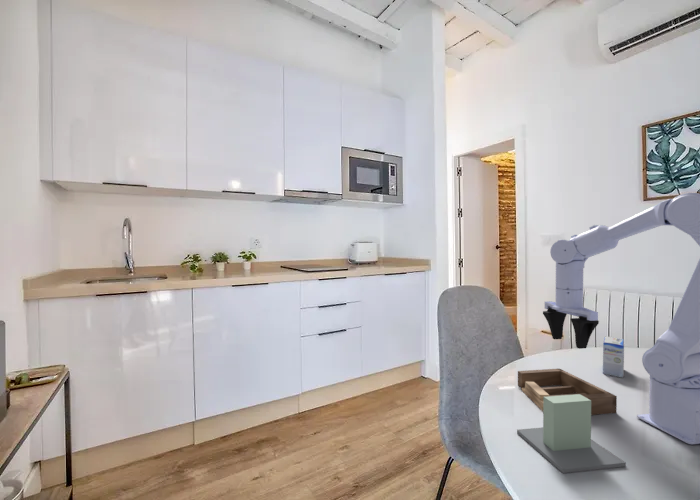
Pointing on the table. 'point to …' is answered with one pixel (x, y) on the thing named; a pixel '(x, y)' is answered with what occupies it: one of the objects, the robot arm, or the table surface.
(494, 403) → the table surface
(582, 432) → the panel
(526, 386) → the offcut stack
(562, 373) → the rack
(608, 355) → the medicine box
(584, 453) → the mat
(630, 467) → the table surface
